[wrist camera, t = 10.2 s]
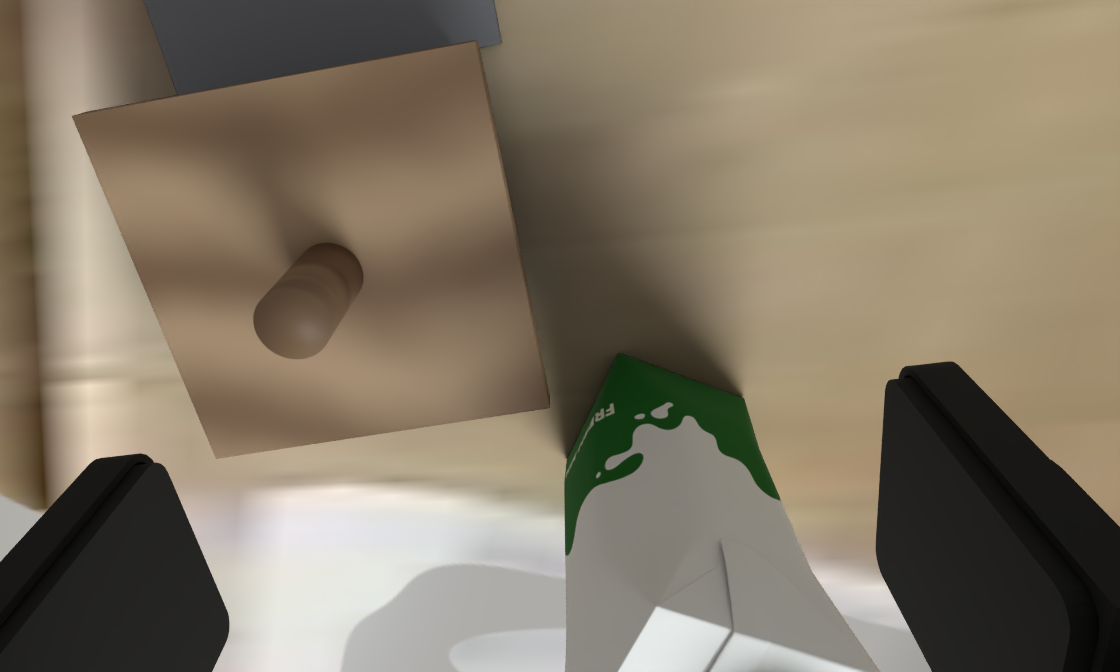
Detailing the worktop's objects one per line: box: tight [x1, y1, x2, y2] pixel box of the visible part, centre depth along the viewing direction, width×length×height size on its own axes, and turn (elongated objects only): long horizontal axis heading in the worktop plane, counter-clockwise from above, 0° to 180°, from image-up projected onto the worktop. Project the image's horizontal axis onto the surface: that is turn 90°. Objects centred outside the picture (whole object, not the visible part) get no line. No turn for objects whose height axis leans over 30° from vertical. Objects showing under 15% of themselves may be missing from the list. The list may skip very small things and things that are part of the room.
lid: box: [72, 40, 550, 459], centre depth 29 cm, size 15×15×6 cm
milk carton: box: [565, 353, 880, 672], centre depth 32 cm, size 9×9×20 cm
